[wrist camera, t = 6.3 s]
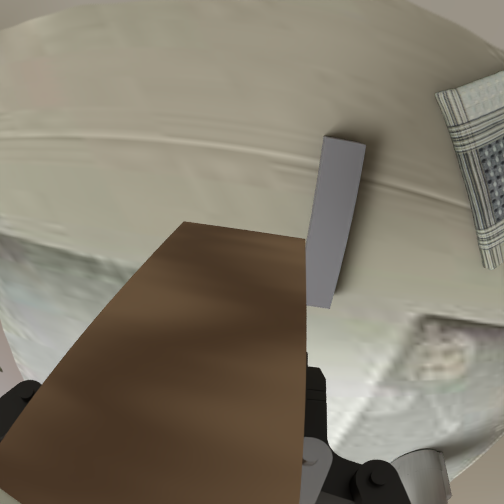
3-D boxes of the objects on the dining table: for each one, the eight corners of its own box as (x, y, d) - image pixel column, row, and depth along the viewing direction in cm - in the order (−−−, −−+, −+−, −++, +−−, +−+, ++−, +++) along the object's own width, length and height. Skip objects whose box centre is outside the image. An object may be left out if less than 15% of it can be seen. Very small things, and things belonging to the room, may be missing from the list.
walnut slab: (305, 238, 11) (284, 620, 1) (273, 387, 15) (238, 603, 5) (183, 221, 12) (-32, 493, 2) (186, 370, 15) (107, 568, 5)
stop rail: (361, 142, 23) (366, 144, 21) (328, 296, 29) (329, 308, 27) (323, 135, 23) (325, 137, 21) (296, 291, 29) (296, 303, 27)
